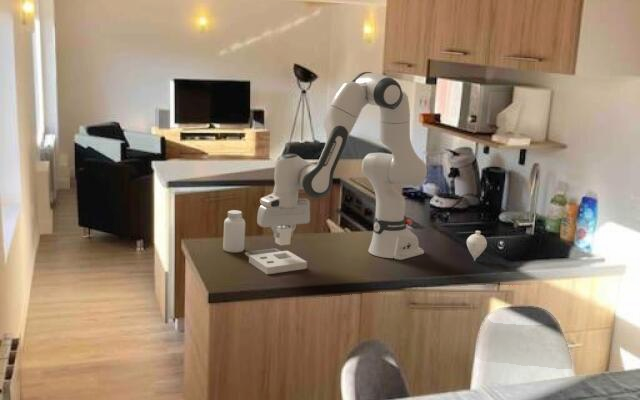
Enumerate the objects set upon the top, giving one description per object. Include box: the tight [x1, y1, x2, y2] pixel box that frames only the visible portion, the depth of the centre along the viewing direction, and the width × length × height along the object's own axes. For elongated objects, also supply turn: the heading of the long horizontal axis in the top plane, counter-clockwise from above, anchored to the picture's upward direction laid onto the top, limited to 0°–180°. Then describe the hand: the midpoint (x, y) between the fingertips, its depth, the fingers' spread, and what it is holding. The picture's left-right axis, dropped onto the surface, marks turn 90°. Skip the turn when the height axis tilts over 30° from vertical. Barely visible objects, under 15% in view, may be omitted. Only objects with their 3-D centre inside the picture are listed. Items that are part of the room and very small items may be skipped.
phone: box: [244, 248, 281, 258], centre depth 253 cm, size 13×7×2 cm, turn 123°
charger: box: [274, 225, 292, 246], centre depth 243 cm, size 4×4×7 cm
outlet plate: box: [248, 250, 308, 275], centre depth 243 cm, size 16×14×3 cm
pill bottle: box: [222, 209, 246, 254], centre depth 256 cm, size 8×8×15 cm
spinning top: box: [466, 230, 488, 262], centre depth 261 cm, size 8×8×12 cm
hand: (283, 236), depth 243 cm, fingers closed on charger, 4 cm apart
